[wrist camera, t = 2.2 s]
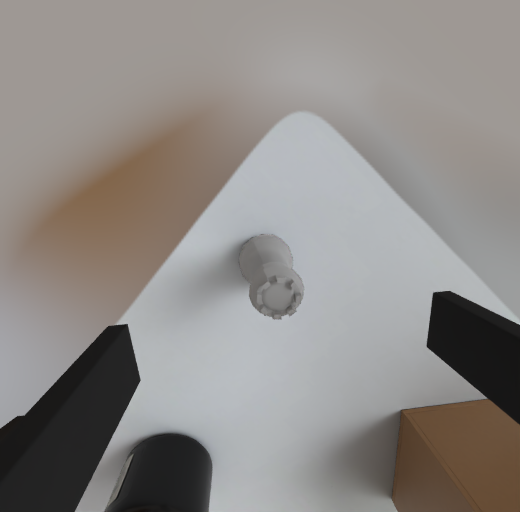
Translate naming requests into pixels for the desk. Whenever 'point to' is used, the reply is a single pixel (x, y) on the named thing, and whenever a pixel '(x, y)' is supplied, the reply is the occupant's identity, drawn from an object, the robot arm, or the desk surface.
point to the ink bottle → (164, 477)
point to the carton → (457, 459)
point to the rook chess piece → (271, 276)
